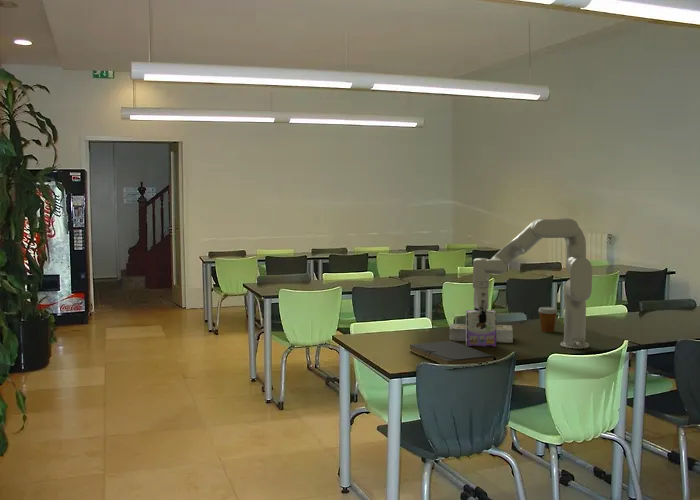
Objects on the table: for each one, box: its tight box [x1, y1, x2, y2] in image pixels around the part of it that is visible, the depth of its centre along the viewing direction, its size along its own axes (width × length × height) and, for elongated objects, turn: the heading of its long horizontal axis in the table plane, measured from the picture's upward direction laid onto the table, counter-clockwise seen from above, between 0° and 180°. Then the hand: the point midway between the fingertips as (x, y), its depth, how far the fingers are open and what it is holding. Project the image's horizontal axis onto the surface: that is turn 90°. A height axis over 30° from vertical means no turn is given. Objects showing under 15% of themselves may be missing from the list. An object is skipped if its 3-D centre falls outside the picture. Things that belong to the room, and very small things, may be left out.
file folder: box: [409, 340, 497, 364], centre depth 294 cm, size 33×4×24 cm
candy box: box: [465, 309, 497, 348], centre depth 315 cm, size 14×6×16 cm, turn 84°
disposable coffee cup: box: [537, 306, 558, 333], centre depth 346 cm, size 10×10×12 cm
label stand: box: [448, 323, 514, 344], centre depth 329 cm, size 30×12×6 cm, turn 79°
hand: (479, 320), depth 315 cm, fingers open, 9 cm apart
